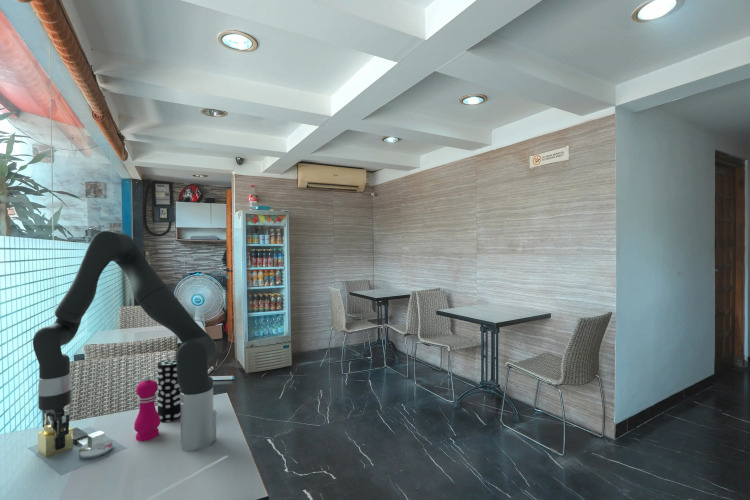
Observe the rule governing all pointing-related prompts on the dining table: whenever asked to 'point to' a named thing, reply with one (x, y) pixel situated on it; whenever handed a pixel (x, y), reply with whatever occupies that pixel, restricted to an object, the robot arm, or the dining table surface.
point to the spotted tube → (168, 391)
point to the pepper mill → (147, 411)
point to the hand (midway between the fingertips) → (55, 445)
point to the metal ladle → (91, 444)
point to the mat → (73, 456)
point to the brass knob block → (52, 442)
